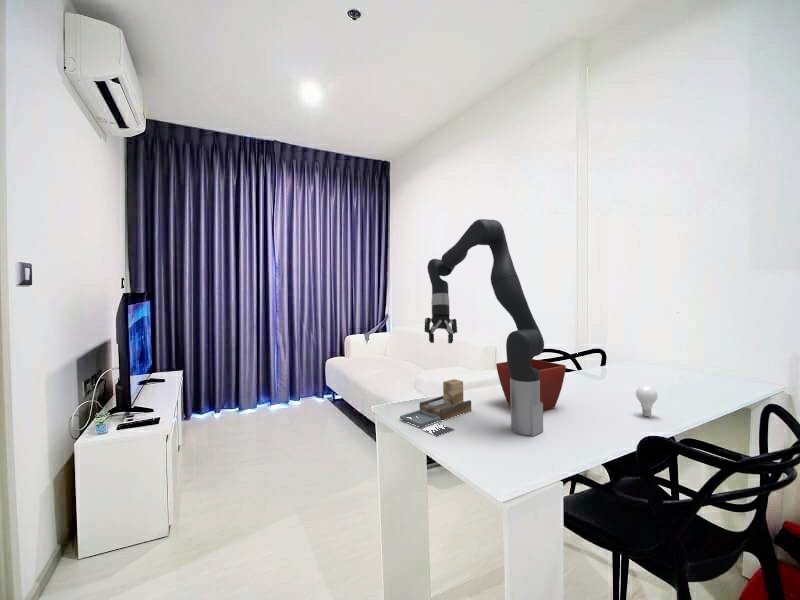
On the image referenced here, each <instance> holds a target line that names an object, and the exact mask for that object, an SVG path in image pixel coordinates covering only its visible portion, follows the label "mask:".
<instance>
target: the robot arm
mask: <svg viewBox="0 0 800 600" xmlns="http://www.w3.org/2000/svg"><path fill="white" fill-rule="evenodd" d="M476 246H489V248H490V251H491V254H492V255H491V256H492V258H493V263H492V267H491V272H490V284H491V287H492V290H493V293H494V295H495V298H496V299H497V302H499V304H500V305H501V306H502V307H503V309H504V310H505V311H506V312H507V313H508V314H509V315H510V316H511V318H512V320H513V322H514V324H515V327H516V330H514V331H511V332H510V333H509V334H508V335H507V338H506V341H505V349H506V362H507V366H508V370H509V372H510V398H511V406H510V430H511V431H512V432H514V433H515V434H519V435H523V436H531V437H535V436H537V435H539V434H541V433H543V432H544V410H543V403H542V402H540V373H539V371H538V370H537V369H535V368H533V367H532V366H531V359H532V358H533V357H538V356H540V355H541V354H542V353H543V351H544V349H545V341H544V338H543V335H542V333H541V330H540V328H539V325H537V322H536V320H535V319H534V316H533V314H532V311H531V309H530V306H529V303H528V301H527V298H526V296H525V293H524V290H523V288H522V285H521V281H520V278H519V276H518V273H517V271H516V269H515V266H514V265H515V264H514V263H513V259H512V256H511V254H510V253H511V252H510V249H509V246H508V242H507V237H506V232H505V229H504V227H503V225H502V223H501V222H500V221H498V220H496V219H487V218H486V219H484V218H479V219H476V220H475V221H474V222H472V223H471V224H470V226H468V228H467V229H466V231H465V232H464V233H463V235H462V236H461V237H460V238H459V240H458V241H457V242H456V243H455V244H454V245H453V246H452V247H450V248H449V249H448V250H446V252H444V254H443V255H441V259H440V258H431V259H430V260H429V261H428V264H427V273H428V277H429V280H430V283H431V303H430V304H431V317H426V318H425V319H424V333H427V334H428V341H429V342H430V344H434V343H435V334H434V332H435V331H436V330H438V329H439V330H445V331H446V333H448V334H447V343H448V344H452V343H453V342H454V334H457V333H458V326H457V325H458V323H457V319H456V318H452V319H451V318H450V312H451V311H450V296H449V283H448V281H446V280H444V279H442V278H441V277H447V276H449V275H451V274H452V272H453V271H454V269H455V268H456V266H457V265H459V264H460V263H462V262H463V261H464V260H465V259H466V258H467V256H468V253H469V252H468V251H469V250H471V249H472V248H473V247H476ZM431 323H432V325H431ZM450 324H451V326H450Z"/></svg>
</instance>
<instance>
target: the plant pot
mask: <svg viewBox="0 0 800 600" xmlns="http://www.w3.org/2000/svg"><path fill="white" fill-rule="evenodd" d="M531 366H532V367H533V368H535V369H537V370H538V371H539V373H540V402H542V403H543V411H546V410H551V409H554V408H555V407H556V406H557V402H558V401H559V397H560V394H561V391H562V389H563V388H562V387H563V385H564V379H565V374H566V368H567V366H566V364H561V363H556V362H550V361H545V360H541V359H535V358H531ZM495 367H496V371H497V376H498V379H499V383H500V386H501V388H502V391H503V394H504V397H505V399H506V401H507V404H508V405H509V406H510V407H511V398H510V372H509V370H508V366H507V361H502V362H497V363H496V364H495Z"/></svg>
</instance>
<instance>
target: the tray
mask: <svg viewBox="0 0 800 600" xmlns="http://www.w3.org/2000/svg"><path fill="white" fill-rule="evenodd" d="M416 416H417V417H418V418H417V417H416ZM407 417H411V418H412V419H410V418H407ZM400 419H402V420H404V421H406V422H409V423H411V424H414V425H416V426H419V427H423V426H425V425H428V424H431V423H434V422H437V421H440V420H441V417H440V416H437V415H434V414H431V413H428V412H426V411H423V410H420V409H418V410H415V411H412V412H408V413H406V414H405V413H404V414H402V415H399V420H400ZM404 421H403V422H404ZM406 422H405V423H406ZM440 422H441V421H440ZM409 423H408V424H409ZM437 423H438V422H437ZM411 424H410V425H411ZM434 424H435V423H434ZM414 425H413V426H414ZM431 425H432V424H431ZM416 426H415V427H416ZM428 426H429V425H428ZM423 428H424V427H423Z"/></svg>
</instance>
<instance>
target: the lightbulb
mask: <svg viewBox="0 0 800 600" xmlns="http://www.w3.org/2000/svg"><path fill="white" fill-rule="evenodd" d="M635 396H636V398H637V400H638V401H639V403H640V406H641V409H642V410H641V411H642V412H641V413H642V415H643V416H644V417H646V418H648V417H651V416H652V409H653V405H654V404H655V403H656V401H657V400H658V392H657V391H656V389H655V388H653V387H651V386H650V385H641V386H639V387H638V388H637V389H636V391H635Z"/></svg>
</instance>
